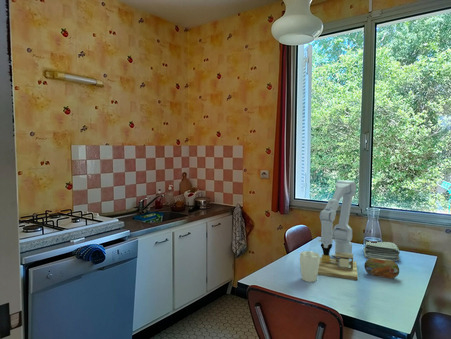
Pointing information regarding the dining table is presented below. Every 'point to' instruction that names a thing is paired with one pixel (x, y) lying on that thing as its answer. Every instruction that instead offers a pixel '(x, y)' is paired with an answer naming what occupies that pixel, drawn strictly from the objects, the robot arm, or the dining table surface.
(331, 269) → the board tunnel
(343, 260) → the block
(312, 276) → the cup
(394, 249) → the towel
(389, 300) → the dining table surface
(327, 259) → the slider
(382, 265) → the tin
